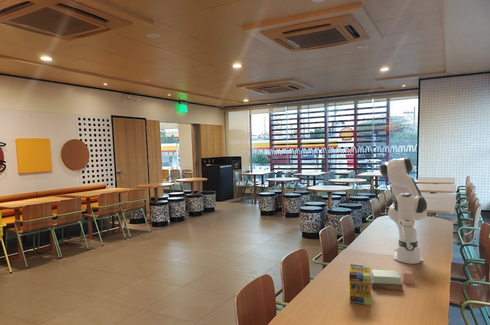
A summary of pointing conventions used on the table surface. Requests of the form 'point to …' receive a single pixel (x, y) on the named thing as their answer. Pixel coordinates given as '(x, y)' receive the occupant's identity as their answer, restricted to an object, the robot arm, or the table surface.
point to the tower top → (385, 277)
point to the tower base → (386, 286)
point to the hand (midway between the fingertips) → (407, 243)
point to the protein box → (360, 284)
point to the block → (407, 276)
